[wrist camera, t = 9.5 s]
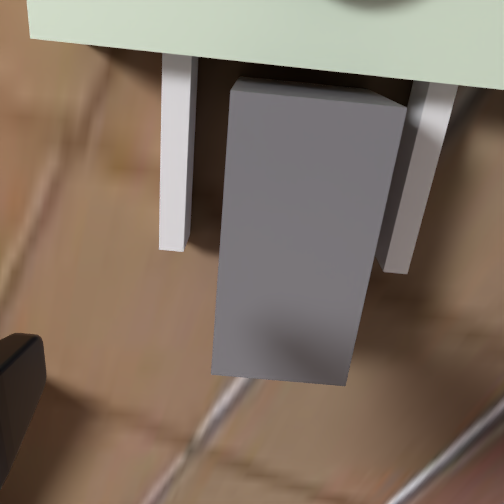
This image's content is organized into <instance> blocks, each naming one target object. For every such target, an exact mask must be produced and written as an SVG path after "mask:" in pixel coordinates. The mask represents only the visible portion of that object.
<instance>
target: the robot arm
mask: <svg viewBox="0 0 504 504" xmlns="http://www.w3.org/2000/svg"><path fill="white" fill-rule="evenodd" d="M45 383H46V365H45V356H44V346H43V341H42V338H41V337H40V336H39V335H35V334H25V333H14V334H12V335H9V336H7V337H5V338H3V339H1V340H0V490H1V488H2V486H3V484H4V482H5V480H6V478H7V476H8V474H9V472H10V470H11V467H12V465H13V463H14V460H15V458H16V456H17V453H18V451H19V448H20V446H21V444H22V441H23V439H24V436H25V434H26V431H27V429H28V426H29V424H30V422H31V419H32V417H33V414H34V412H35V409H36V407H37V404H38V402H39V399H40V397H41V395H42V392H43V390H44V387H45Z"/></svg>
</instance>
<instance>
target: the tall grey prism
mask: <svg viewBox="0 0 504 504" xmlns="http://www.w3.org/2000/svg"><path fill="white" fill-rule="evenodd" d="M406 112H407V107H405V106H403V105H400V104H398V103H396V102H394V101H392V100H390V99H388V98H386V97H384V96H382V95H380V94H377V93H375V92H373V91H371V90H369V89H364V88H354V87H343V86H333V85H323V84H313V83H303V82H293V81H283V80H273V79H263V78H252V77H242V76H239V78H238V79H237V81H236V82H235V84H234V86H233V87H232V89H231V90H230V105H229V119H228V134H227V149H226V163H225V178H224V193H223V207H222V222H221V237H220V251H219V266H218V281H217V296H216V310H215V325H214V340H213V354H212V369H211V375H222V376H234V377H245V378H257V379H268V380H280V381H291V382H303V383H314V384H326V385H337V386H346V381H347V377H348V372H349V368H350V363H351V359H352V354H353V350H354V345H355V341H356V336H357V332H358V327H359V323H360V318H361V314H362V309H363V305H364V300H365V296H366V292H367V287H368V283H369V278H370V274H371V269H372V265H373V260H374V256H375V251H376V247H377V242H378V238H379V233H380V229H381V224H382V220H383V215H384V211H385V206H386V202H387V197H388V193H389V188H390V184H391V179H392V175H393V170H394V166H395V161H396V157H397V152H398V148H399V144H400V139H401V135H402V130H403V126H404V121H405V117H406Z"/></svg>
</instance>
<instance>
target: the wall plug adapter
mask: <svg viewBox="0 0 504 504" xmlns="http://www.w3.org/2000/svg"><path fill="white" fill-rule="evenodd" d="M27 8H28V19H29V30H30V38H32V39H41V40H50V41H59V42H68V43H78V44H87V45H96V46H105V47H114V48H124V49H133V50H142V51H151V52H160V53H162V105H161V164H160V222H159V249H160V250H170V251H180V252H184V249H185V246H186V244H187V241H188V238H189V236H190V225H191V204H192V183H193V162H194V141H195V120H196V99H197V78H198V57H206V58H215V59H225V60H234V61H243V62H252V63H261V64H270V65H280V66H289V67H298V68H307V69H316V70H325V71H335V72H344V73H353V74H362V75H371V76H381V77H390V78H399V79H408V80H413V84H412V89H411V93H410V97H409V102H408V106H407V112H406V117H405V121H404V126H403V130H402V135H401V139H400V144H399V148H398V152H397V157H396V161H395V166H394V170H393V175H392V179H391V184H390V188H389V193H388V197H387V202H386V206H385V211H384V215H383V220H382V224H381V229H380V233H379V238H378V242H377V247H376V251H375V257H376V259H377V261H378V263H379V264H380V266H381V268H382V270H383V272H390V273H400V274H407V273H408V269H409V266H410V262H411V258H412V255H413V251H414V247H415V244H416V240H417V236H418V233H419V229H420V225H421V222H422V218H423V214H424V210H425V207H426V203H427V199H428V196H429V192H430V188H431V185H432V181H433V177H434V174H435V170H436V166H437V163H438V159H439V155H440V152H441V148H442V144H443V140H444V137H445V133H446V129H447V126H448V122H449V118H450V115H451V111H452V107H453V104H454V100H455V96H456V93H457V89H458V85H463V86H472V87H482V88H491V89H500V90H504V0H27Z"/></svg>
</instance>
